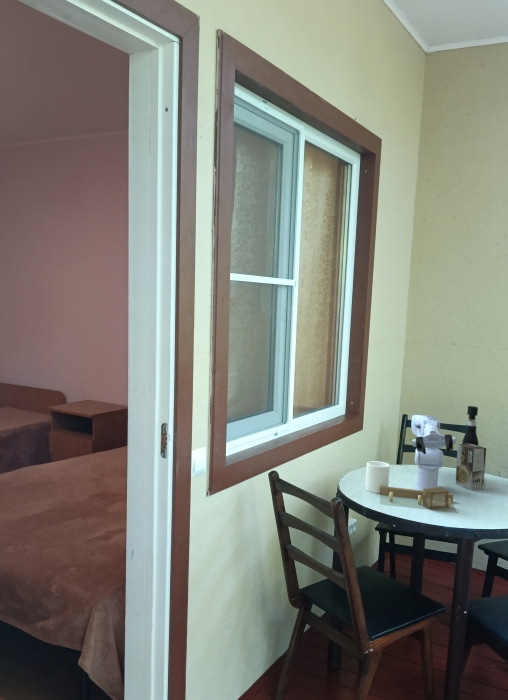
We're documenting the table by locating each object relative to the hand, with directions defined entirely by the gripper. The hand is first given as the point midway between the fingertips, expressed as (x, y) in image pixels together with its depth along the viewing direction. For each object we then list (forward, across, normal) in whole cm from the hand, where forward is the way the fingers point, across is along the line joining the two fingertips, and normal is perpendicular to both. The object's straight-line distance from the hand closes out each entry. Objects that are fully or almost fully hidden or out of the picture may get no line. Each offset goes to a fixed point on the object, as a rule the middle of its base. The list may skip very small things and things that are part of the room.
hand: (436, 450), depth 191 cm
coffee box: (-28, +13, +28) cm, 42 cm away
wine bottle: (-38, +13, +29) cm, 50 cm away
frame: (+3, -3, +19) cm, 19 cm away
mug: (-11, -22, +19) cm, 31 cm away
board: (+1, -8, +19) cm, 21 cm away
